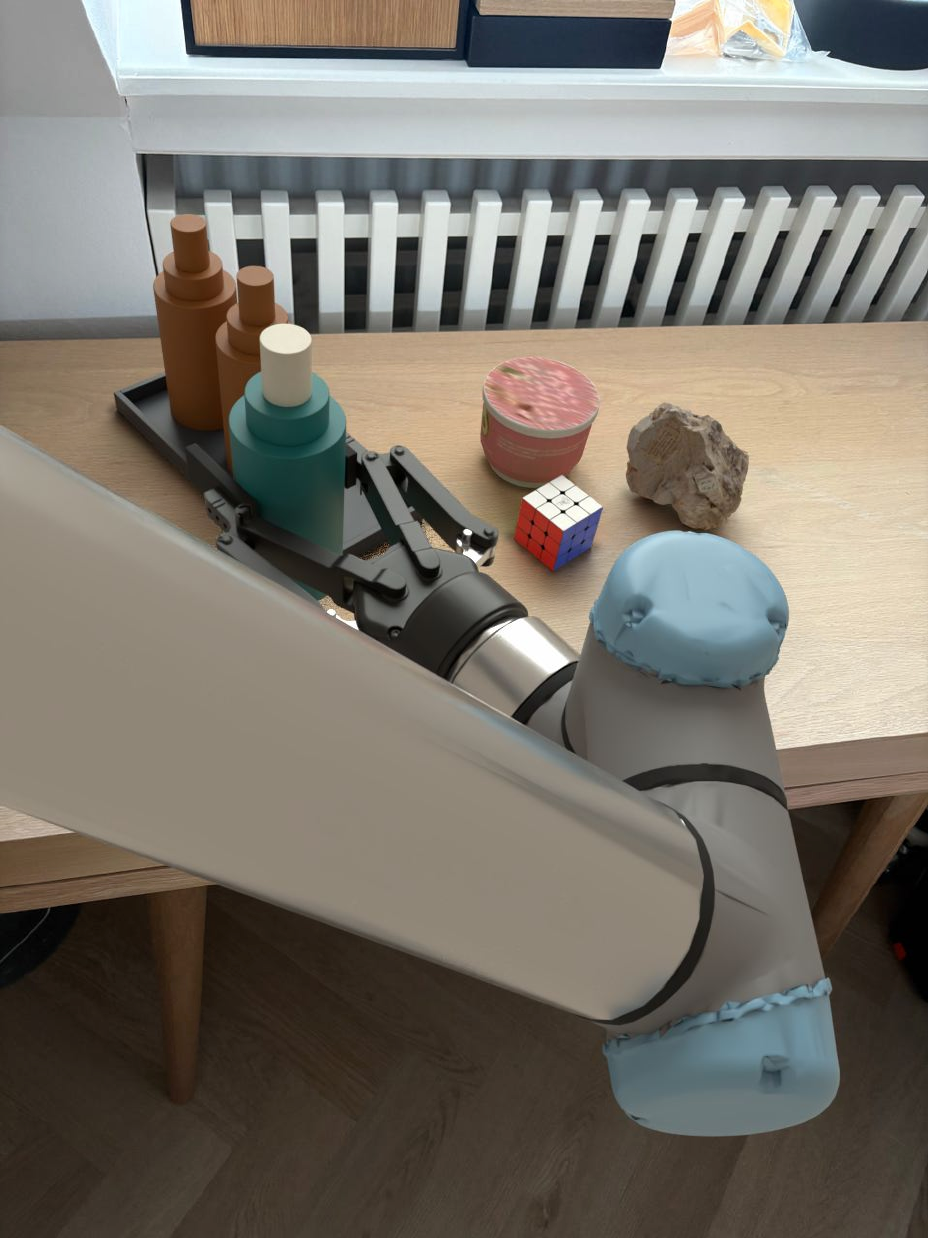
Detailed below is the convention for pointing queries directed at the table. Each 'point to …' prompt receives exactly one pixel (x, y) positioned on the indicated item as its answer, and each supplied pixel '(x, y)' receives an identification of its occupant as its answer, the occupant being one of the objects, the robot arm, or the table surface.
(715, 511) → the rock
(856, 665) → the table surface
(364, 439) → the table surface
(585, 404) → the container
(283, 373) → the bottle
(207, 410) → the bottle far
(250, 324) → the bottle mid
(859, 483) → the table surface
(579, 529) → the rubik's cube
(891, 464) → the table surface
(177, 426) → the tray
